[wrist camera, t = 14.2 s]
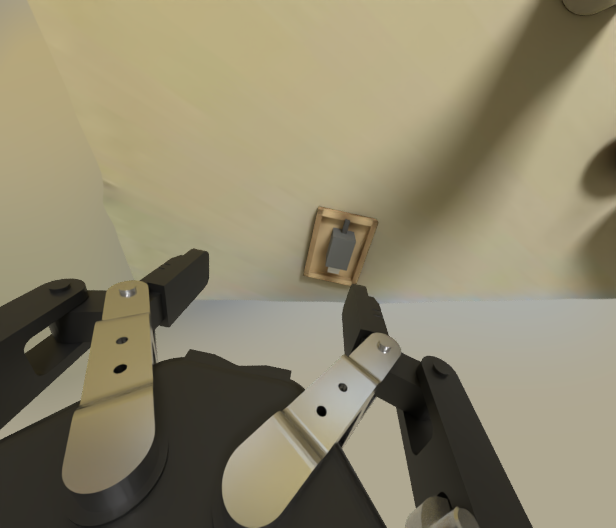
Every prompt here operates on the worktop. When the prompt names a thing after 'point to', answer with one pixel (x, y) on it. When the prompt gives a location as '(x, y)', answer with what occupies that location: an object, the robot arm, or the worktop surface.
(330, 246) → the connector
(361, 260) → the tray
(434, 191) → the worktop surface
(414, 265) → the worktop surface
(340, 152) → the worktop surface
